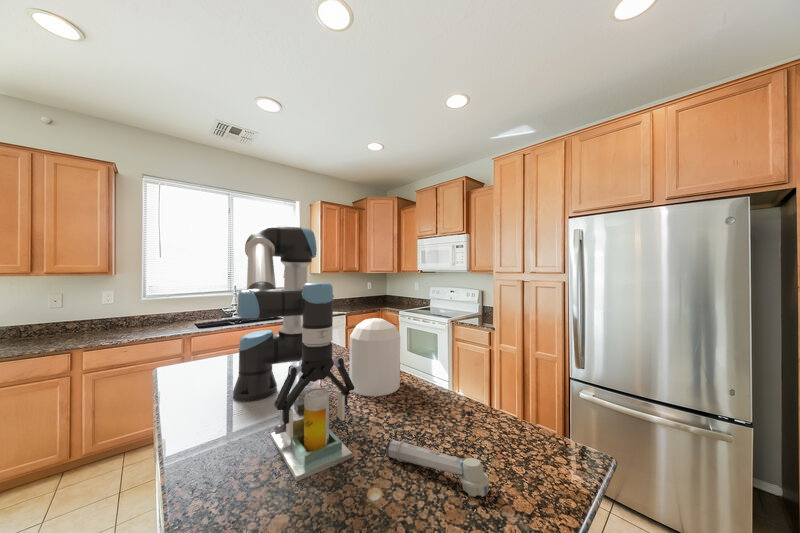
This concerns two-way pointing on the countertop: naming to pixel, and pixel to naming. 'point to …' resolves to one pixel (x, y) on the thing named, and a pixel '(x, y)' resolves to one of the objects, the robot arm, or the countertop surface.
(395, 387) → the container
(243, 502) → the countertop surface
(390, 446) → the toothbrush head
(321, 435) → the soda can
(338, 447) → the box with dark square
